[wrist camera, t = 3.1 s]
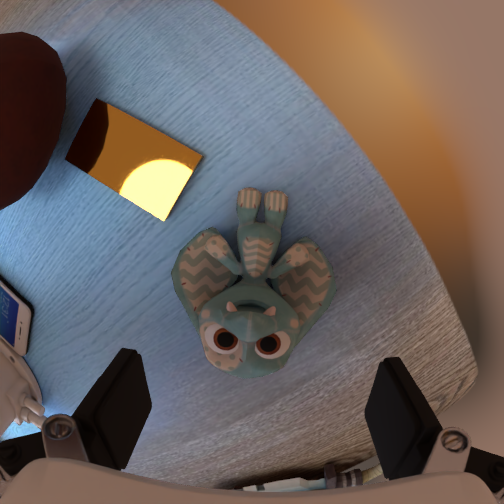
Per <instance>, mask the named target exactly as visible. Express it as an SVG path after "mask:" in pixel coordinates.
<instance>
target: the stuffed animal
mask: <svg viewBox="0 0 504 504" xmlns="http://www.w3.org/2000/svg"><path fill="white" fill-rule="evenodd" d="M261 195H262V193H261V192H259V191H258V190H257V189H254V188H244V189H242V190H240V191H239V192H238V197H237V215H238V219H239V227H238V229H237V242H238V250H239V255H240V257H241V261H240V262H238V261H237V259H236V255H235V254H234V252H233V251H232V248H231V247H230V245H229V244H228V243H227V241H226V240H225V239H224V238H223V236H222V235H221V234H220V232H218V230H217V229H216V228H214V227H210V228H208V229H206V230H204V231H201V232H199V233H198V234H197V235H196V236H195V237H194V238H193V239H192V240H191V241H190V242H189V243H188V244H187V245H186V246H185V247H184V248H183V249H182V250H181V251H180V253H179V255H178V257H177V260H176V262H175V264H174V267H173V269H172V272H171V275H172V280H173V284H174V289H175V292H176V294H177V296H178V297H179V299H180V301H181V303H182V305H183V306H184V308H185V310H186V312H187V314H188V316H189V318H190V320H191V322H192V323H193V325H194V327H195V329H196V331H197V333H198V335H199V336H200V338H201V341H202V345H203V348H204V352H205V355H206V358H207V359H208V360H209V361H210V363H211V364H212V365H214V366H215V367H217V368H219V369H220V370H222V371H223V372H225V373H228V374H230V375H233V376H236V377H239V378H256V377H263V376H265V375H268V374H271V373H274V372H277V371H278V370H280V369H281V368H283V367H284V365H285V363H286V362H287V360H288V358H289V356H290V354H291V352H292V351H293V349H294V348H295V346H296V345H297V344H298V343H299V342H300V341H301V339H302V338H303V337H304V336H305V335H306V334H307V332H308V331H309V330H310V329H311V328H312V326H313V325H314V324H315V323H316V322H317V321H318V319H319V318H320V317H321V316H322V315H323V314H324V312H325V311H326V310H327V309H328V308H329V306H330V304H331V302H332V300H333V297H334V295H335V293H336V291H337V290H336V284H335V279H334V273H333V268H332V266H331V264H330V263H329V261H328V260H327V258H326V257H325V255H324V254H323V252H322V251H321V249H320V248H319V246H318V245H317V244H316V243H314V242H313V241H312V240H310V239H309V238H307V237H303V238H301V239H300V240H298V241H297V242H296V243H295V244H294V245H293V246H291V247H290V248H289V249H287V250H286V251H285V252H284V253H283V255H282V256H281V257H280V258H279V259H277V262H276V264H275V265H273V266H272V264H271V263H272V260H273V259H274V257H275V255H276V252H277V249H278V246H279V243H280V240H281V237H282V236H281V231H280V230H281V225H282V223H283V221H284V219H285V216H286V213H287V205H288V196H287V195H285V194H284V193H283V192H281V191H278V190H272V191H269V192H267V193H265V197H264V214H265V222H262V223H259V222H257V221H256V218H257V214H258V211H259V208H260V203H261ZM237 275H242V276H243V279H242V280H241V281H240V282H239V283H237V284H235V285H234V286H232V285H233V283H234V282H235V280H236V279H237V278H238V277H237ZM267 278H271V283H272V285H273V288H274V290H275V291H274V290H273V289H272V288H271V287H270V286H269V285H268V284H267V283H266V281H265V280H266V279H267ZM231 286H232V287H231Z"/></svg>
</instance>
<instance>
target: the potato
mask: <svg viewBox="0 0 504 504" xmlns="http://www.w3.org/2000/svg"><path fill="white" fill-rule="evenodd" d="M66 83H67V77H66V75H65V72H64V69H63V66H62V63H61V60H60V58H59V55H58V53H57V52H56V51H55V50H54V49H53V48H52V47H51V46H49V45H48V44H47V43H46V42H44V41H43V40H42V39H40V38H39V37H37V36H34V35H31V34H28V33H24V32H15V33H6V34H0V210H2V209H4V208H5V207H7V206H9V205H11V204H13V203H14V202H16V201H18V200H19V199H21V198H22V197H23V196H24V195H25V194H26V193H27V192H28V191H29V190H30V189H32V187H33V186H34V185H35V183H36V182H37V180H38V179H39V177H40V176H41V175H42V173H43V172H44V170H45V169H46V167H47V165H48V163H49V160H50V158H51V156H52V153H53V151H54V149H55V147H56V145H57V142H58V140H59V136H60V131H61V127H62V122H63V118H64V114H65V109H66Z"/></svg>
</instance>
